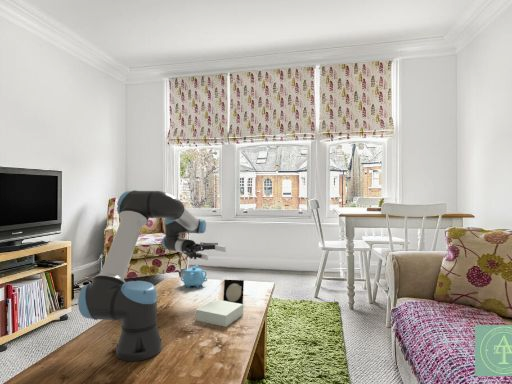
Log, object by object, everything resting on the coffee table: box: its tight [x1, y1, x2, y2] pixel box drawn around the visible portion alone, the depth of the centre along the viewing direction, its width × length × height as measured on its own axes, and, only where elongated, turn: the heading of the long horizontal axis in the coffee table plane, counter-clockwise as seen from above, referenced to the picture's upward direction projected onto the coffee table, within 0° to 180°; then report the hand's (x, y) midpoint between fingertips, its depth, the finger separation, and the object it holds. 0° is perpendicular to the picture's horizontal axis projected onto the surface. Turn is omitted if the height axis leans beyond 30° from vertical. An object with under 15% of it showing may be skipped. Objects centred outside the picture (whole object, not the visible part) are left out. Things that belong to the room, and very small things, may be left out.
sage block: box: [195, 298, 244, 328], centre depth 146 cm, size 15×15×5 cm
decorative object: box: [222, 279, 245, 305], centre depth 164 cm, size 12×10×10 cm
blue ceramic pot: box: [180, 264, 208, 288], centre depth 194 cm, size 13×14×11 cm
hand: (216, 253), depth 165 cm, fingers open, 13 cm apart
